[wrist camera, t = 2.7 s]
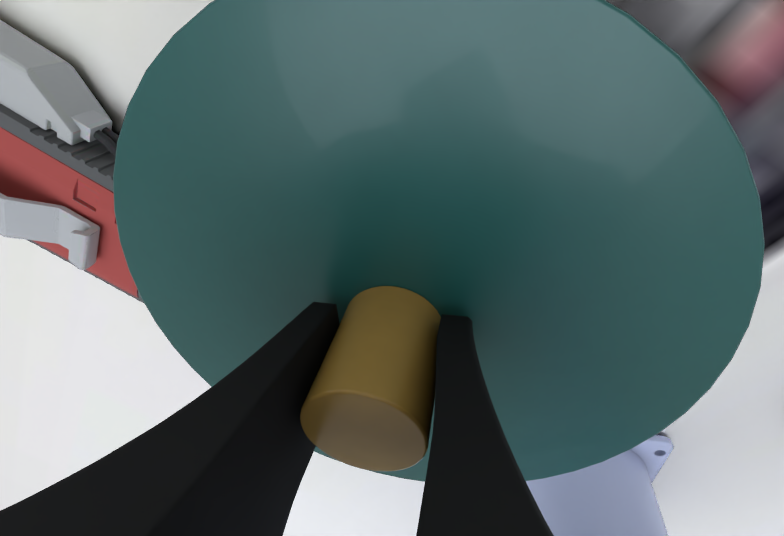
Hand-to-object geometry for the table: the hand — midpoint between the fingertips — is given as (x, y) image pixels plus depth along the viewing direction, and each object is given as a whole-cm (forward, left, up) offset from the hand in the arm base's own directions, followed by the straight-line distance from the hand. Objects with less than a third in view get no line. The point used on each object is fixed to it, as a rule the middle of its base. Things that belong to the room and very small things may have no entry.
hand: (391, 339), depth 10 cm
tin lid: (0, 0, -1) cm, 1 cm away
